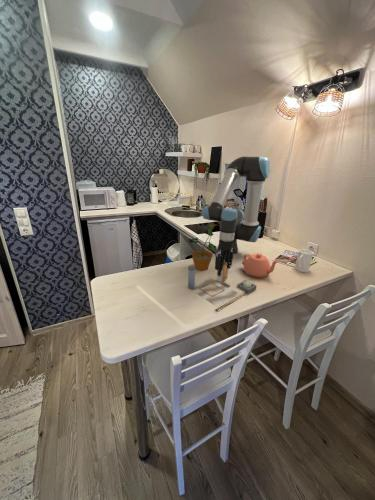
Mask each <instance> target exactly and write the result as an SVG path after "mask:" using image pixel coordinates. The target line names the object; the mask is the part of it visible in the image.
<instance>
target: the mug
mask: <svg viewBox="0 0 375 500" xmlns="http://www.w3.org/2000/svg"><path fill="white" fill-rule="evenodd" d="M313 257H314V252H313V251H312V250H310V249H305V248H303V249H302V248H300V249H298V253H297V257H296V260H295V264H294V269H295V270H296V271H298V272H302V273H308V272H310V266H311V263H312V260H313Z"/></svg>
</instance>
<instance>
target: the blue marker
mask: <svg viewBox="0 0 375 500" xmlns="http://www.w3.org/2000/svg"><path fill="white" fill-rule="evenodd" d="M187 268H188V272H187V273H188V275H187V287H188V289H189V290H190V289H194V286H195V284H196V268H195V266H194V264H192V265H191V264H190V265H188V267H187Z"/></svg>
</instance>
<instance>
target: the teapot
mask: <svg viewBox="0 0 375 500" xmlns="http://www.w3.org/2000/svg"><path fill="white" fill-rule="evenodd" d="M278 262H280V260H273V261H272V263H270V261H269V259H268V257H267V256H265V255H263V254H262V253H259V252H258V253H252V254H250V253H245V254H244V256H243V261H242V265H243V267H242V268H243V270H244V272H245V273H246V274H247V275H249V276H250V277H253V278H265V277H267V276H268V275H270V274H271V273H273V272H274V271H275V267H276V264H277V263H278Z"/></svg>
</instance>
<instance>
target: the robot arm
mask: <svg viewBox="0 0 375 500" xmlns="http://www.w3.org/2000/svg"><path fill="white" fill-rule="evenodd" d="M270 168H271V166H270V160H269V158H268V157H267V156H265V157H264V156H241V157H237V158H235V159H234V160H233V161H232V162H230V163H229V164H228V166H227V167H226V169H225V171H224V176H223V178H222V180H221V182H220V184H219V186H218V188H217V190H216V192H215V194H214V197H213V198H212V199H213V200H211V202H210V204H209V205H205V206H204V207H203V208H202V212H201V213H202V214H201V215H202V218H203V219H204V220H208V221H212V222H213V221H214V222H220V230H219V238H218V239H219V240H218V244H217V247H216V250H217V252H215V253H214V256H215V262H214V263H215V264H214V270H215V271H217V273H216V275H217V276H216V277H217V278H216V281H218V282H221V281H222V275H223V270H222V268H223V264H224V261H227V269H226V279H225V280H228V274H229V269H231V267H232V264H233V259H234V255H236V254H237V253H239V248H238V241H237V240H239V241H243V242H247V243H256V242H257V240H259V237H260V235H261V230H262V226H261V225H260V222H259V221H258V219H259V218H258V217H259V210H260V209H259V208H260V202H261V195H262V187H263V184H264V183H265V182H266V179H269V176H270V172H271V169H270ZM241 177H243V178H245V181H246V183H247V187H246V196H245V197H246V198H245V207H244V211H243V210H242V209H240V208H229V207H227V208H226V207H225V205H226V202H227V200H228V199H229V197H230V194H231V192H232V190H233V187H234V185H236V182H237V181H238V180H239V179H240V178H241ZM224 207H225V208H224Z"/></svg>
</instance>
